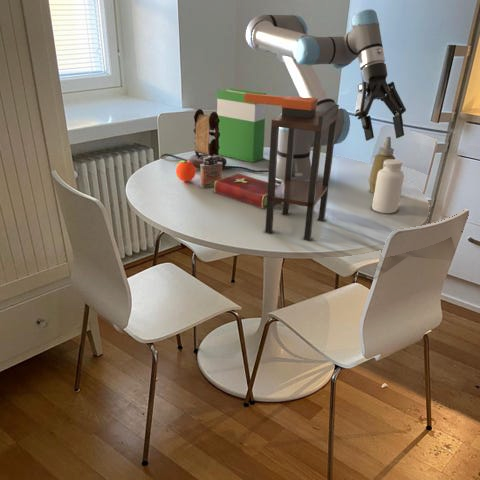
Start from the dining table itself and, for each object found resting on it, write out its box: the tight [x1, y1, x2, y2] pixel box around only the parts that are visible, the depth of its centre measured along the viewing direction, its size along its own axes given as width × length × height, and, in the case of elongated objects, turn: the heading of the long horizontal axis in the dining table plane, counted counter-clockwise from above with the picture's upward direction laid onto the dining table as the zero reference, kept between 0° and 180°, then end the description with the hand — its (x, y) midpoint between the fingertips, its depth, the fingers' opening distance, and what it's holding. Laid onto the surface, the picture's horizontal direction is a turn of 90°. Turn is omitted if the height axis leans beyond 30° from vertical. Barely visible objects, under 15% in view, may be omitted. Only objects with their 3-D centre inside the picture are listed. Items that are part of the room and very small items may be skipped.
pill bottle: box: [371, 158, 405, 214], centre depth 158 cm, size 8×8×15 cm
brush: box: [244, 93, 318, 119], centre depth 134 cm, size 19×6×4 cm, turn 68°
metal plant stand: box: [264, 104, 340, 241], centre depth 141 cm, size 13×17×32 cm
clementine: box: [175, 160, 196, 182], centre depth 179 cm, size 8×7×7 cm
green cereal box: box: [216, 87, 267, 163], centre depth 202 cm, size 18×7×24 cm, turn 55°
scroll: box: [187, 108, 227, 169], centre depth 190 cm, size 15×15×20 cm
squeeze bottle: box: [368, 136, 396, 194], centre depth 171 cm, size 8×8×18 cm
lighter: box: [200, 155, 223, 189], centre depth 175 cm, size 8×3×10 cm, turn 117°
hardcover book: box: [213, 173, 280, 209], centre depth 169 cm, size 12×21×4 cm, turn 49°
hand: (385, 138), depth 159 cm, fingers open, 13 cm apart
